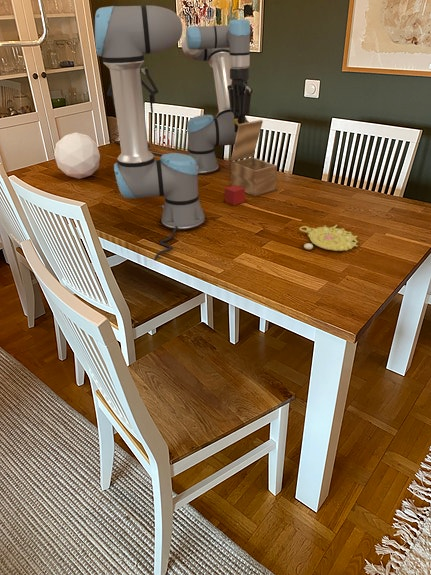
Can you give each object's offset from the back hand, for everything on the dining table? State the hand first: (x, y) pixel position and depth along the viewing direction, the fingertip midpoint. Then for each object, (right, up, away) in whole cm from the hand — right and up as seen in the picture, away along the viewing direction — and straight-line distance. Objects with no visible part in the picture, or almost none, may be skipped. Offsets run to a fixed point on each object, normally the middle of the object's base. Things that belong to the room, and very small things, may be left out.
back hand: (239, 132), depth 179 cm
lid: (+3, -5, -2) cm, 6 cm away
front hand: (-42, +8, +2) cm, 43 cm away
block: (-2, -30, -8) cm, 31 cm away
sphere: (-71, -12, +23) cm, 75 cm away
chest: (+6, -22, +4) cm, 23 cm away
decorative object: (+26, -48, -37) cm, 66 cm away
